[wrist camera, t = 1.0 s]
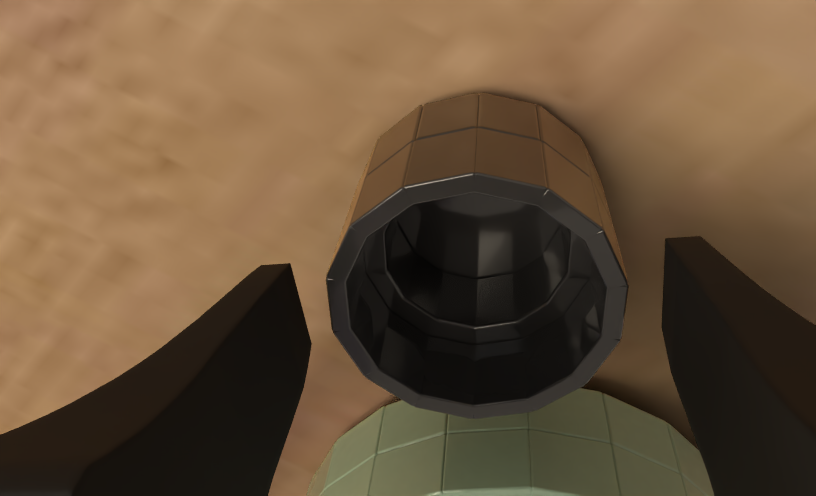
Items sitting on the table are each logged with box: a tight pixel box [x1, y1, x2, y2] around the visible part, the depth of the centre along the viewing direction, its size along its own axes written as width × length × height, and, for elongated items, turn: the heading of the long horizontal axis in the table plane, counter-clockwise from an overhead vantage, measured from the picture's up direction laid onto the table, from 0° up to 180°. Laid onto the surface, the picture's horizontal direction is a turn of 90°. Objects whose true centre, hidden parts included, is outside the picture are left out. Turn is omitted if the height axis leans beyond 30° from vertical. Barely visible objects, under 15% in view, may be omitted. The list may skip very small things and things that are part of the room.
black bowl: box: [326, 93, 629, 419], centre depth 16 cm, size 6×6×4 cm
